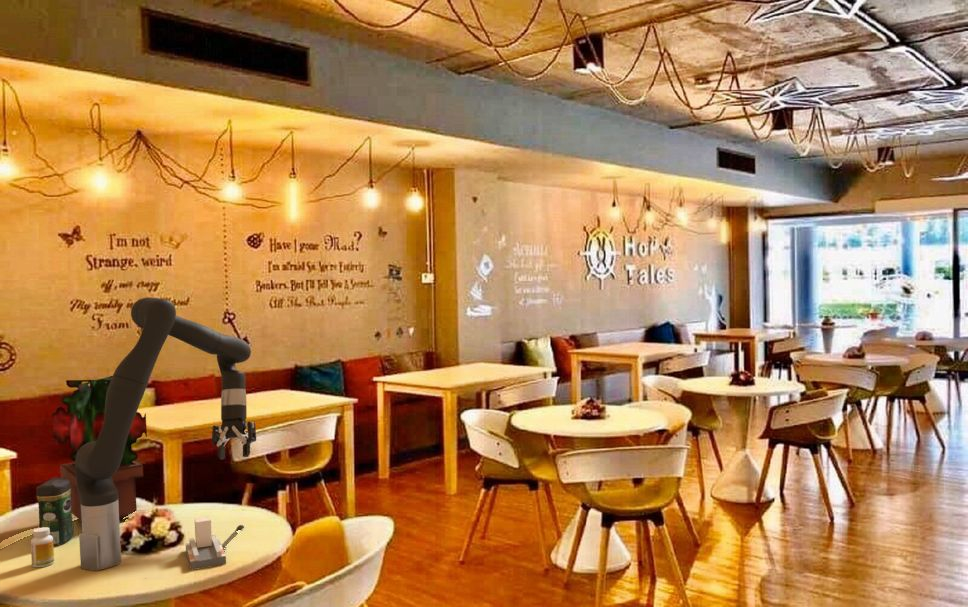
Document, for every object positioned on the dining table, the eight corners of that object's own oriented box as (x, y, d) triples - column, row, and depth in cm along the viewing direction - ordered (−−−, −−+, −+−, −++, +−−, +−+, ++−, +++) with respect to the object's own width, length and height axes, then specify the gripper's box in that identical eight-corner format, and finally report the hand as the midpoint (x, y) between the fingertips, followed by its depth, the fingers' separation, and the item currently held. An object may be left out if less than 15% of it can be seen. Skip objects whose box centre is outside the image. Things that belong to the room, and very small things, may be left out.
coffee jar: (51, 536, 245) (47, 476, 244) (77, 535, 245) (74, 475, 244) (34, 548, 235) (31, 484, 234) (62, 547, 235) (58, 483, 234)
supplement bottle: (59, 561, 223) (57, 527, 223) (42, 569, 218) (40, 533, 218) (43, 559, 225) (42, 525, 225) (27, 566, 220) (25, 531, 219)
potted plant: (129, 504, 277) (122, 372, 274) (150, 518, 260) (144, 379, 257) (57, 518, 262) (50, 380, 260) (75, 535, 246) (67, 387, 243)
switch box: (185, 550, 229) (185, 538, 229) (219, 545, 233) (218, 533, 233) (190, 569, 215) (190, 556, 215) (226, 563, 219) (225, 551, 218)
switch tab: (195, 543, 228) (194, 518, 228) (210, 541, 230) (209, 516, 230) (196, 547, 225) (195, 522, 224) (212, 545, 226) (210, 520, 226)
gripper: (206, 406, 249) (206, 459, 246) (246, 401, 245) (246, 456, 241) (221, 408, 256) (221, 460, 252) (260, 403, 252) (261, 456, 248)
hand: (233, 458), depth 247 cm, fingers open, 8 cm apart
